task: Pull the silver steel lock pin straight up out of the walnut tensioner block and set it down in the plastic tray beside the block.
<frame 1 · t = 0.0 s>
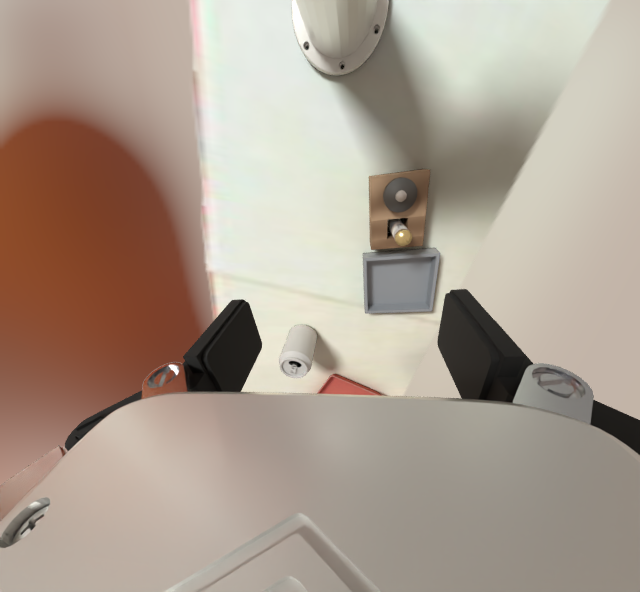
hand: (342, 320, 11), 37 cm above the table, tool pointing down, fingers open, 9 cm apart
tray: (396, 279, 49), on the table
plant saucer: (344, 394, 72), on the table
tensioner block: (394, 209, 42), on the table
lock pin: (393, 223, 43), resting in tensioner block
can: (303, 333, 60), on the table
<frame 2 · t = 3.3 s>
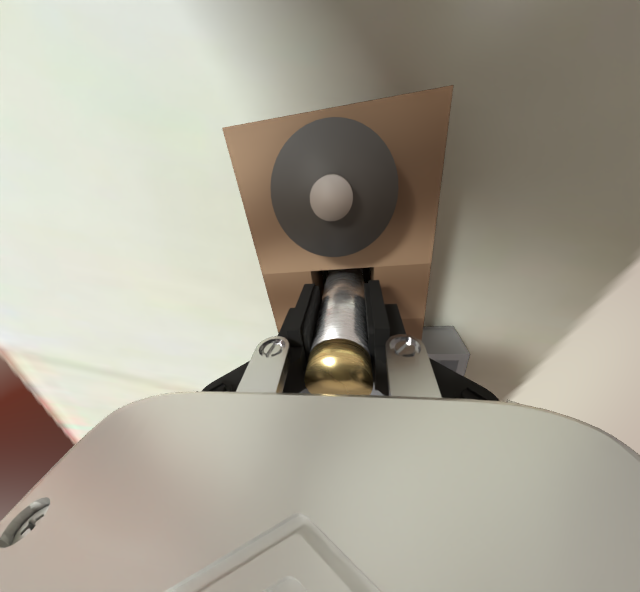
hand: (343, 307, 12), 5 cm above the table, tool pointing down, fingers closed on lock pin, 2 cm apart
tray: (364, 380, 22), on the table
tensioner block: (343, 233, 15), on the table
lock pin: (345, 268, 17), resting in tensioner block, touching gripper
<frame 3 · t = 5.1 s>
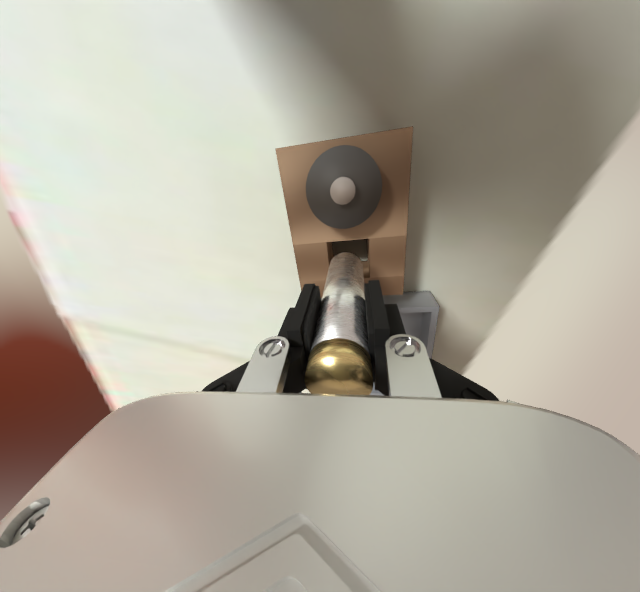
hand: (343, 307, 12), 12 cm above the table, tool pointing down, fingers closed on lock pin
tray: (363, 340, 28), on the table
tensioner block: (347, 219, 21), on the table
lock pin: (345, 268, 17), point 7 cm above the table, touching gripper
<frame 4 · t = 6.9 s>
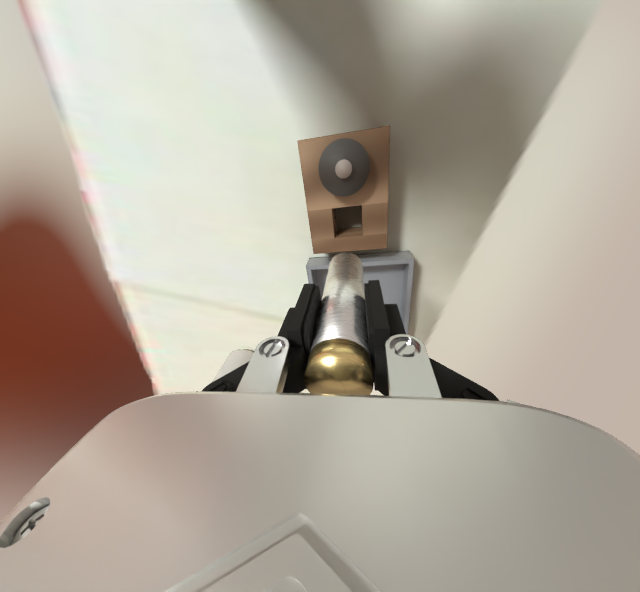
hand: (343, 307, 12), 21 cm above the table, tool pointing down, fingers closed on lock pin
tray: (359, 293, 36), on the table
tensioner block: (346, 194, 29), on the table
lock pin: (345, 268, 17), point 16 cm above the table, touching gripper
can: (248, 359, 47), on the table
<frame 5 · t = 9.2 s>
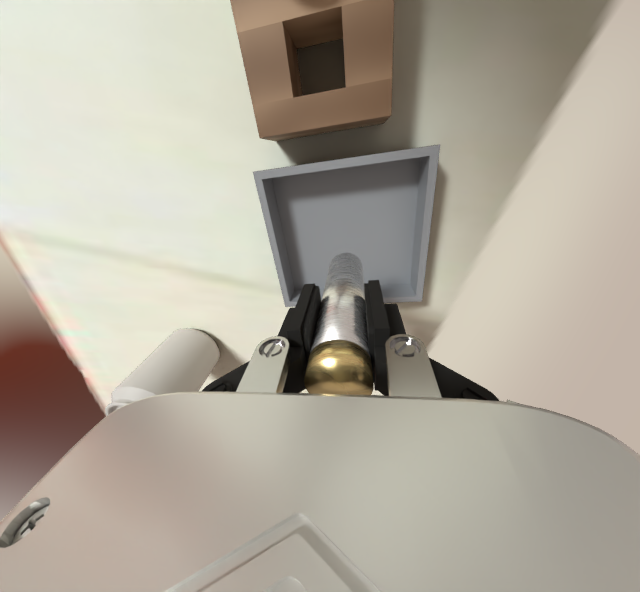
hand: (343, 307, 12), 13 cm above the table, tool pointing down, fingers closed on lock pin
tray: (346, 233, 23), on the table
tensioner block: (318, 27, 16), on the table
lock pin: (345, 268, 16), point 8 cm above the table, touching gripper
can: (199, 343, 34), on the table
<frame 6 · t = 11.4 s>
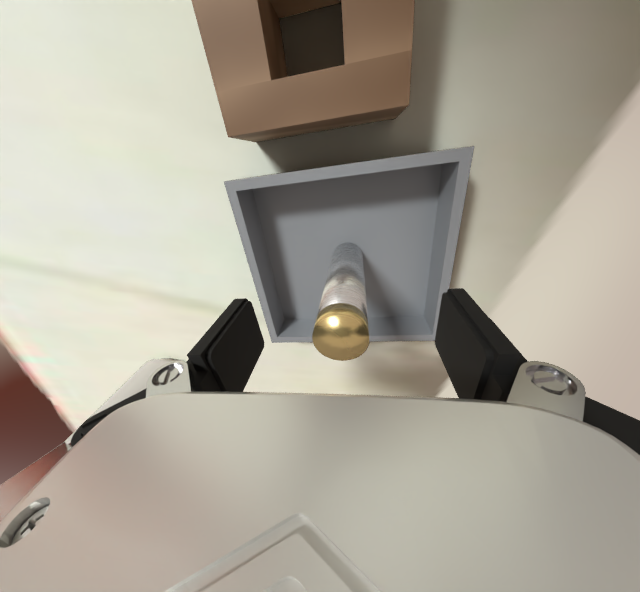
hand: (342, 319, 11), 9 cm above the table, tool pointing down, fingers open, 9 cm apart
tray: (346, 255, 19), on the table
lock pin: (347, 257, 18), resting on tray
can: (177, 373, 30), on the table
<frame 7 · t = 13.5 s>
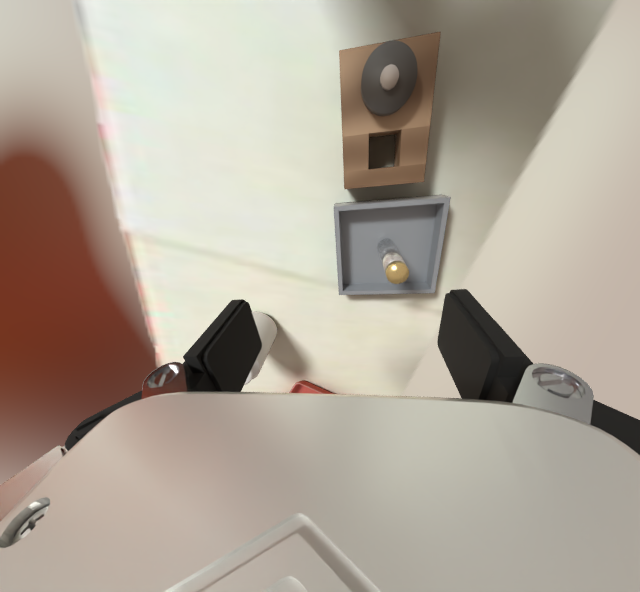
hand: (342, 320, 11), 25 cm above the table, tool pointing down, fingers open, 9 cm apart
tray: (384, 246, 34), on the table
plant saucer: (318, 407, 56), on the table
tensioner block: (381, 127, 27), on the table
lock pin: (385, 246, 34), resting on tray
can: (260, 324, 45), on the table
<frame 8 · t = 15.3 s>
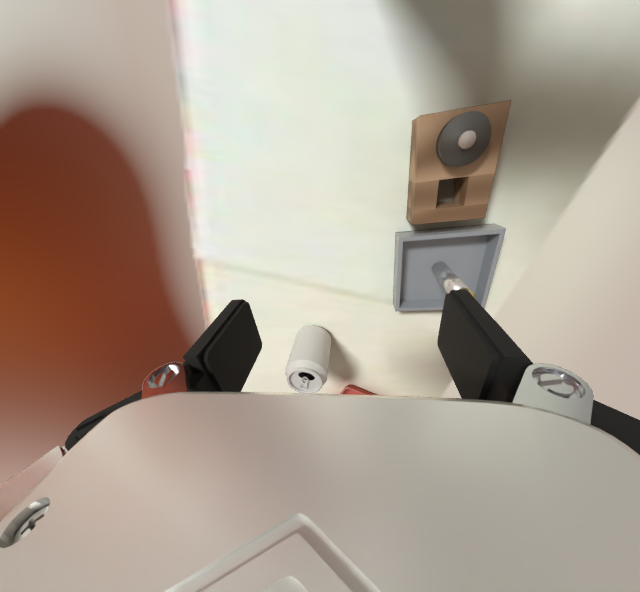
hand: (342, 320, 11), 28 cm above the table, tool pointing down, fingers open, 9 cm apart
tray: (437, 267, 38), on the table
tensioner block: (443, 169, 31), on the table
lock pin: (439, 268, 38), resting on tray
can: (314, 336, 49), on the table
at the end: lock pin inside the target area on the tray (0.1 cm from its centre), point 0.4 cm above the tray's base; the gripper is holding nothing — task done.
